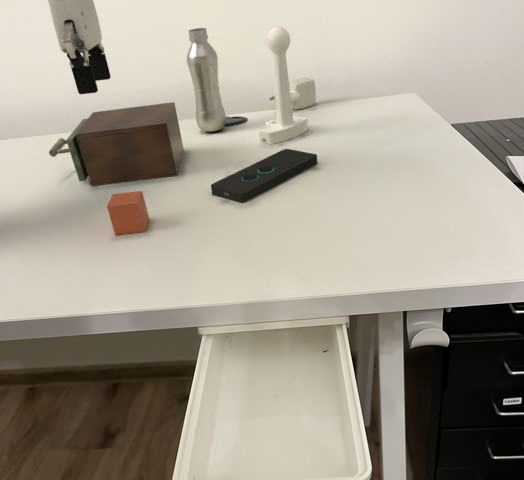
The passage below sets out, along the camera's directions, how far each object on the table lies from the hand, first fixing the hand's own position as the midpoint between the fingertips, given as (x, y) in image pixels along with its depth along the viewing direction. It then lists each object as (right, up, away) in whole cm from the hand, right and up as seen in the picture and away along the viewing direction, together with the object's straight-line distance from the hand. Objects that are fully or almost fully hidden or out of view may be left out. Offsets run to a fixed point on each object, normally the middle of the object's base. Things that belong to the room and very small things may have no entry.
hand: (95, 86), depth 94 cm
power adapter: (+36, +12, +36) cm, 52 cm away
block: (+8, -26, -7) cm, 28 cm away
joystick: (+33, 0, +22) cm, 40 cm away
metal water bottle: (+18, +4, +30) cm, 35 cm away
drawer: (-1, -9, +15) cm, 17 cm away
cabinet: (+4, -9, +15) cm, 18 cm away
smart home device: (+29, -15, +3) cm, 33 cm away
